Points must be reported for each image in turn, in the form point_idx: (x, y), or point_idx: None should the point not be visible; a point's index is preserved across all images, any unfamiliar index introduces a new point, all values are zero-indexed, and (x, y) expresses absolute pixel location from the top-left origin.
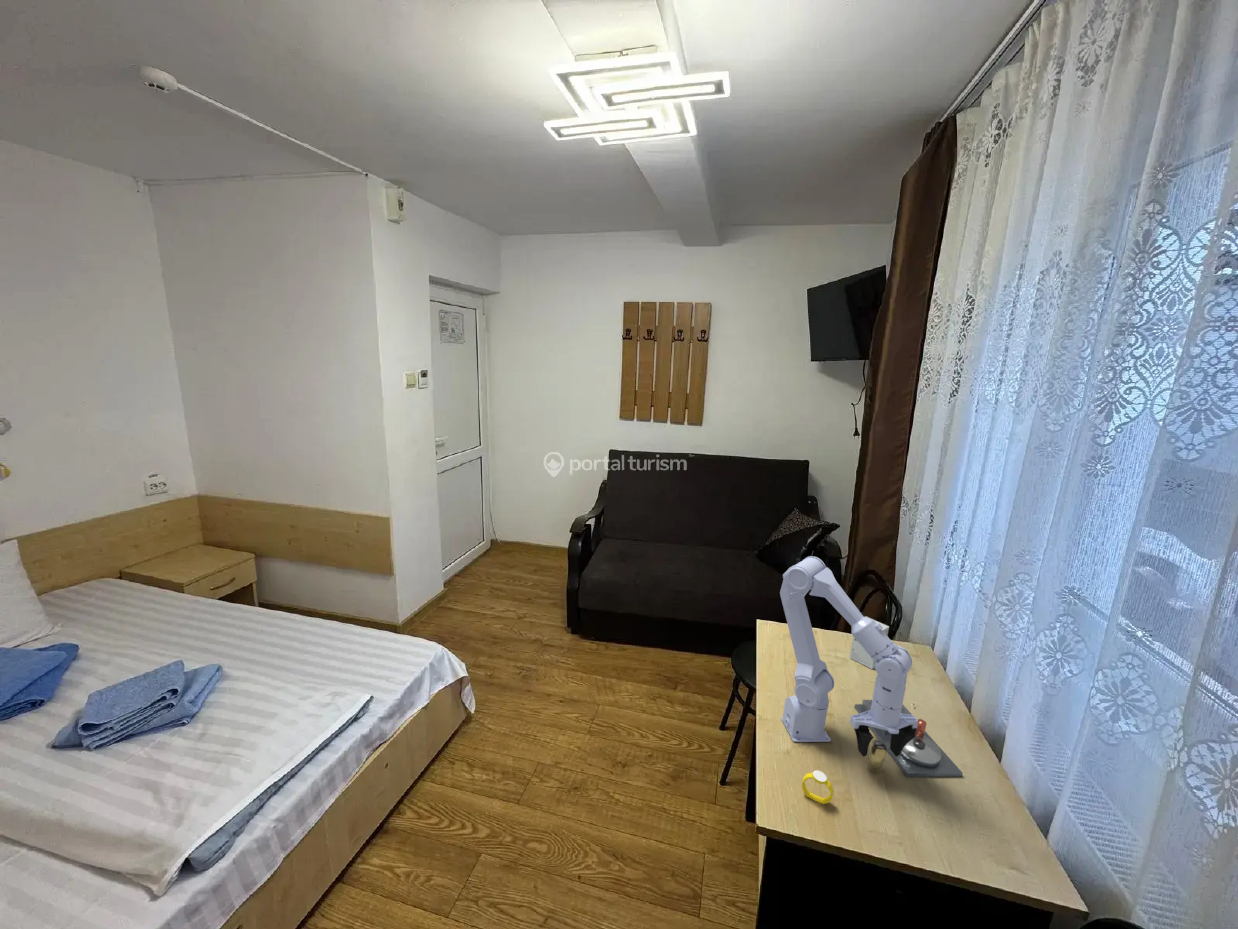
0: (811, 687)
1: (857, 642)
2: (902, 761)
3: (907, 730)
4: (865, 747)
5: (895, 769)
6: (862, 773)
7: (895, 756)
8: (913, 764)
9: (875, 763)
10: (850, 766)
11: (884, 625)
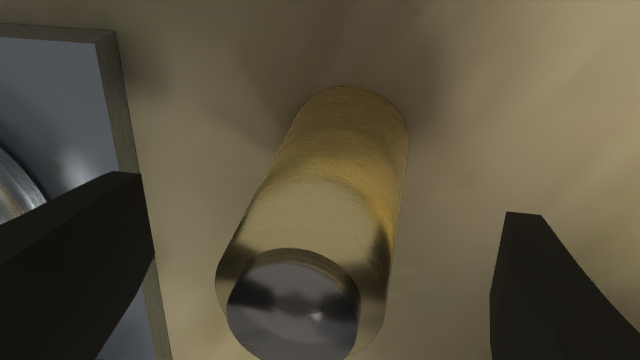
0: None
1: None
2: (83, 160)
3: None
4: (593, 308)
5: (173, 113)
6: (505, 104)
7: None
8: (5, 125)
9: (378, 148)
10: (566, 181)
11: None
